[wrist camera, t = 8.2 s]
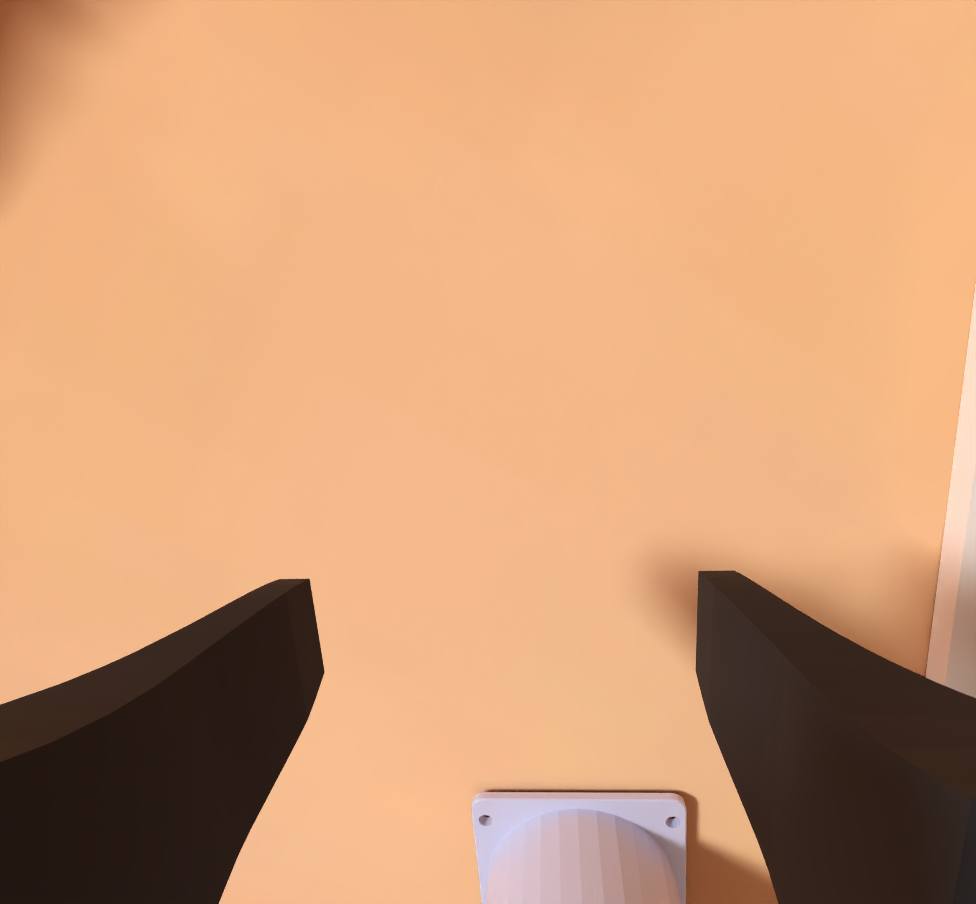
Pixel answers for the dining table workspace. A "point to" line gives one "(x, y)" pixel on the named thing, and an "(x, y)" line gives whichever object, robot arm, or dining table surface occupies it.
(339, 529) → the dining table surface
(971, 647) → the board
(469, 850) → the dining table surface
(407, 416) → the dining table surface
